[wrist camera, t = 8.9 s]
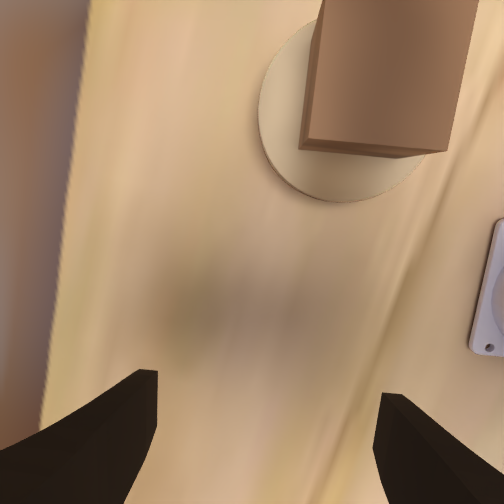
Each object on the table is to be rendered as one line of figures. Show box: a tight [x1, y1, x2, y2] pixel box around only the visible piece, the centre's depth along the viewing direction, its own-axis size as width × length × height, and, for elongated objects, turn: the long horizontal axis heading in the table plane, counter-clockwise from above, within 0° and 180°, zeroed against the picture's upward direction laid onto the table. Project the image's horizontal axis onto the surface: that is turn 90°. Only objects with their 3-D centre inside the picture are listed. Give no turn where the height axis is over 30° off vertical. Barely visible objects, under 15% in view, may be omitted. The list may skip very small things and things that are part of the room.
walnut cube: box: [298, 0, 479, 159], centre depth 13 cm, size 4×4×4 cm
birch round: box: [258, 19, 426, 202], centre depth 17 cm, size 8×8×4 cm
